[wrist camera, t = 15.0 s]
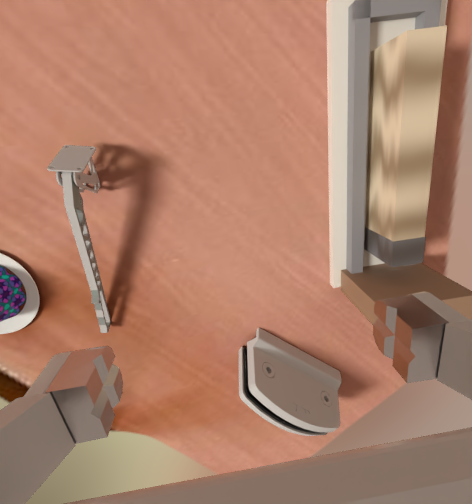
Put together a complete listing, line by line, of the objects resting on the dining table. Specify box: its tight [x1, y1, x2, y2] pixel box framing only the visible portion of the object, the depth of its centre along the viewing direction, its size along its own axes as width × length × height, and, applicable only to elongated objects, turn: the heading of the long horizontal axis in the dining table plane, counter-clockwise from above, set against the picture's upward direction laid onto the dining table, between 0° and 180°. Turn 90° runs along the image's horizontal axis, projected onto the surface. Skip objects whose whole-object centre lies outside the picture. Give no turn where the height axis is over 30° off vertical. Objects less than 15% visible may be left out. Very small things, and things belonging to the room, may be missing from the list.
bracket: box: [47, 145, 111, 333], centre depth 35 cm, size 3×21×10 cm, turn 177°
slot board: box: [326, 0, 472, 325], centre depth 30 cm, size 32×12×11 cm, turn 7°
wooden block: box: [364, 26, 447, 267], centre depth 31 cm, size 22×4×6 cm, turn 7°
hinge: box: [239, 328, 342, 436], centre depth 42 cm, size 17×5×10 cm, turn 56°
